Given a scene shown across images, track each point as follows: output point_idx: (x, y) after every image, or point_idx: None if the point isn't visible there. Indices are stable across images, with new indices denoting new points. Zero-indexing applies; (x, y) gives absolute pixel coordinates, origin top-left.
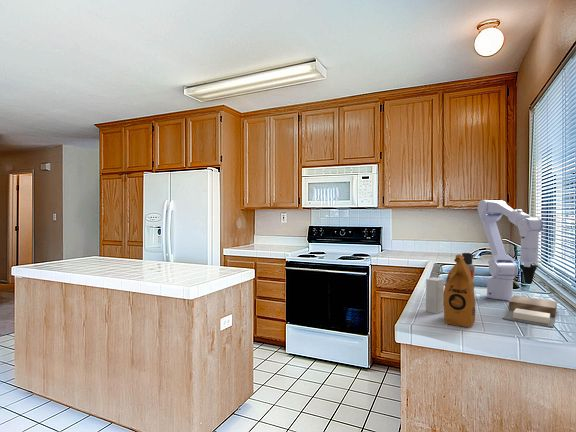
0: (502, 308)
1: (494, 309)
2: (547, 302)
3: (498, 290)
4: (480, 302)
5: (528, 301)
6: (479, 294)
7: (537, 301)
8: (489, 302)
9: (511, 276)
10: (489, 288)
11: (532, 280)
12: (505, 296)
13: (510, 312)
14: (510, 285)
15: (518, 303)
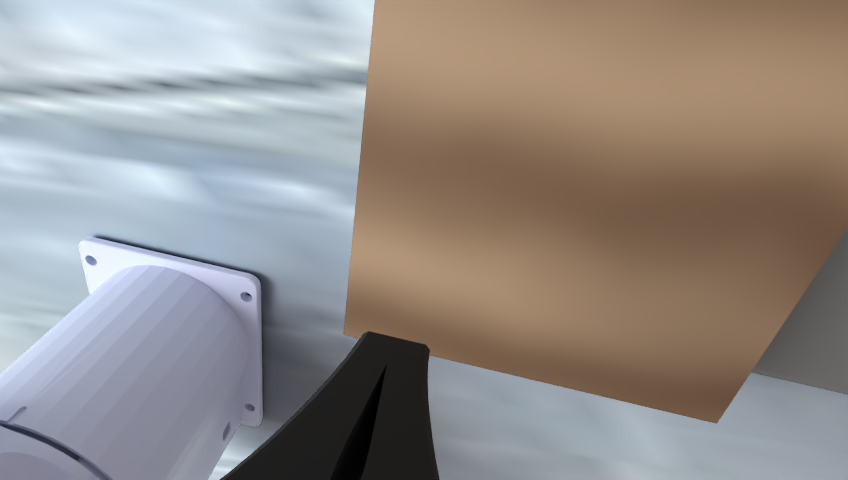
0: None
1: (688, 434)
2: (568, 25)
3: (211, 419)
4: (466, 474)
5: (626, 253)
6: None
7: (567, 151)
8: None
9: (2, 470)
10: (205, 474)
11: (396, 379)
12: (230, 338)
13: (824, 366)
14: (127, 388)
15: (757, 354)
